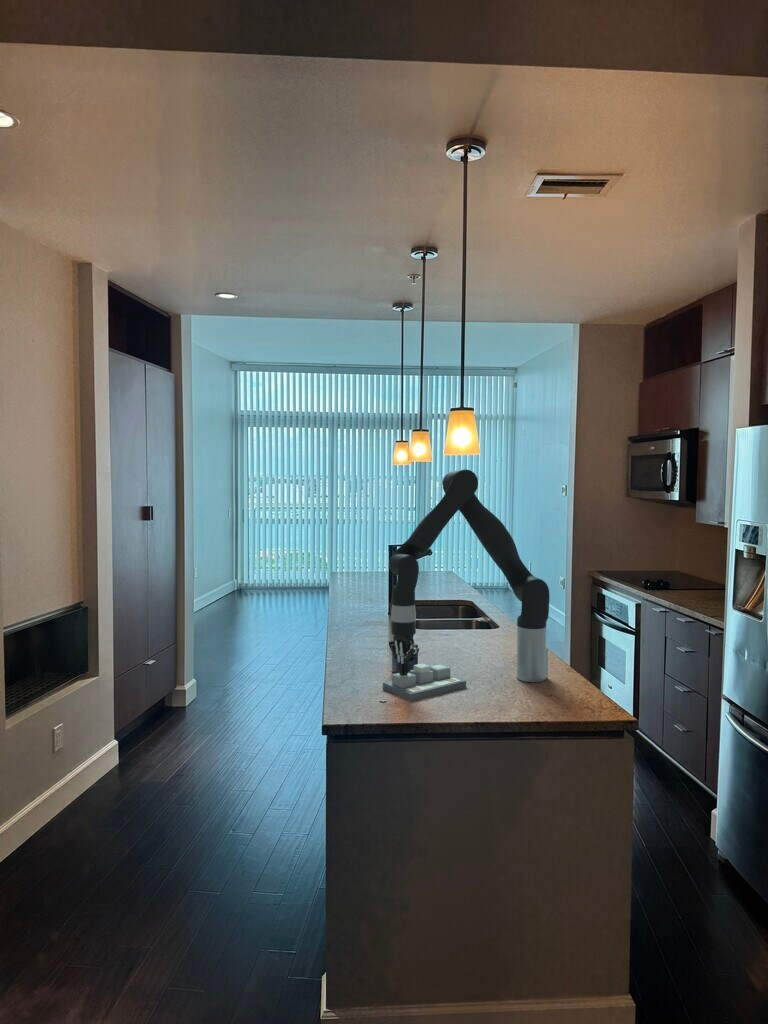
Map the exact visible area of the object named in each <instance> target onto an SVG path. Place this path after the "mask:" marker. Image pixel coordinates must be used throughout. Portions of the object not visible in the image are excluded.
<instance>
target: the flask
mask: <svg viewBox="0 0 768 1024" xmlns="http://www.w3.org/2000/svg"><path fill="white" fill-rule="evenodd" d="M414 646H415V648H419V645H418V644H417V643H414ZM418 656H419V653H418V654H417V655H416V657H415V659H414V660H413V662H409V663H408V673H410V670H414V665H417V664H419V657H418ZM391 671H392V673H393V674H396V673H399V662H398V660H397V659H395V658H394V656H393V654H392V653H391Z"/></svg>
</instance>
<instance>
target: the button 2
mask: <svg viewBox="0 0 768 1024" xmlns="http://www.w3.org/2000/svg"><path fill="white" fill-rule="evenodd" d="M435 665H436V666H433V665H430V666H431V668H434V669H437V670H440V669H444V668H447V667H448V666H447V667H445V666H446V665H444V666H442V665H443V664H441V665H437V664H435Z"/></svg>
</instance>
